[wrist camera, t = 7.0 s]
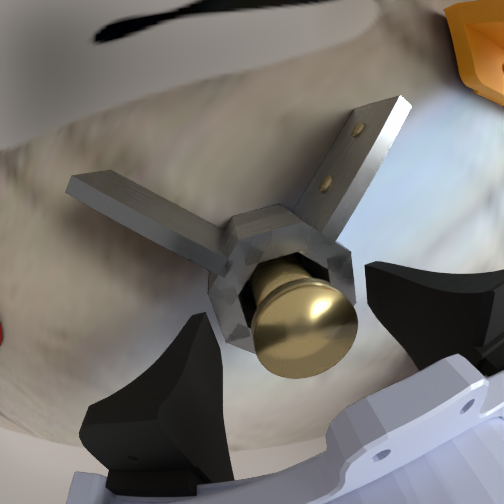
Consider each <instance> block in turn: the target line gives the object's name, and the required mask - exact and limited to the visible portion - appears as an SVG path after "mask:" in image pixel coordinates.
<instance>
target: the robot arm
mask: <svg viewBox="0 0 504 504" xmlns="http://www.w3.org/2000/svg"><path fill="white" fill-rule="evenodd" d="M364 266H365V277H366V289H367V304H368V305H369V307H370V309H371V310H372V312H373V313H374V315H375V316H376V318H377V319H378V320H379V321H380V322H381V324H382V325H383V326H384V327H385V328H386V329H387V330H388V331H389V332H390V334H391V335H392V336H393V337H394V338H395V339H396V340H397V341H398V342H399V343H400V345H401V346H402V347H403V348H404V349H405V350H406V352H407V353H408V354H409V356H410V357H411V359H412V360H413V362H414V363H415V365H416V366H417V368H418V369H419V372H417V373H415V374H413V375H411V376H409V377H407V378H405V379H403V380H401V381H399V382H397V383H395V384H393V385H391V386H388V387H386V388H384V389H382V390H380V391H377V392H375V393H373V394H370V395H368V396H366V397H363V398H362V399H360V400H358V401H356V402H355V403H353V404H351V405H349V406H347V407H346V408H345V409H344V410H343V411H342V412H341V413H340V414H339V415H338V416H337V417H335V418H334V419H333V420H332V422H331V423H330V425H329V428H328V431H327V434H326V443H327V450H326V451H324V452H323V453H320V454H318V455H316V456H314V457H312V458H310V459H308V460H305V461H303V462H301V463H299V464H296V465H294V466H292V467H289V468H287V469H285V470H282V471H280V472H276V473H272V474H267V475H263V476H258V477H252V478H247V479H241V480H234V476H233V471H232V466H231V461H230V456H229V451H228V445H227V439H226V432H225V425H224V418H223V366H222V358H221V351H220V347H219V345H218V342H217V340H216V337H215V335H214V332H213V330H212V327H211V325H210V322H209V319H208V317H207V314H206V312H203V313H199V314H195V315H192V316H191V317H190V319H189V320H188V321H187V323H186V324H185V326H184V327H183V328H182V330H181V331H180V333H179V334H178V335H177V337H176V338H175V339H174V341H173V342H172V343H171V344H170V346H169V347H168V348H167V349H166V351H165V352H164V353H163V354H162V355H161V356H160V357H159V359H158V360H157V361H156V362H155V363H154V364H153V365H151V366H150V367H149V368H148V369H147V370H146V371H145V372H144V373H142V374H141V375H140V376H139V377H137V378H136V379H135V380H134V381H132V382H131V383H130V384H128V385H127V386H125V387H124V388H122V389H121V390H119V391H117V392H116V393H114V394H112V395H111V396H109V397H107V398H105V399H103V400H101V401H99V402H97V403H95V404H92V405H90V406H89V407H88V410H87V412H86V415H85V418H84V420H83V423H82V426H81V428H80V431H79V438H80V440H81V442H82V444H83V446H84V447H85V448H86V449H87V450H88V451H89V452H90V453H91V454H92V455H93V456H94V457H95V458H96V459H97V460H98V461H99V462H100V463H102V464H103V465H104V466H105V467H106V468H107V469H108V470H109V472H108V477H105V476H103V475H100V474H94V473H85V472H74V476H73V480H72V483H71V486H70V490H69V494H68V498H67V502H66V504H504V270H499V271H494V272H486V273H476V274H450V273H438V272H431V271H425V270H419V269H414V268H409V267H405V266H400V265H396V264H391V263H386V262H380V261H375V262H372V263H369V264H366V265H364Z"/></svg>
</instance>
